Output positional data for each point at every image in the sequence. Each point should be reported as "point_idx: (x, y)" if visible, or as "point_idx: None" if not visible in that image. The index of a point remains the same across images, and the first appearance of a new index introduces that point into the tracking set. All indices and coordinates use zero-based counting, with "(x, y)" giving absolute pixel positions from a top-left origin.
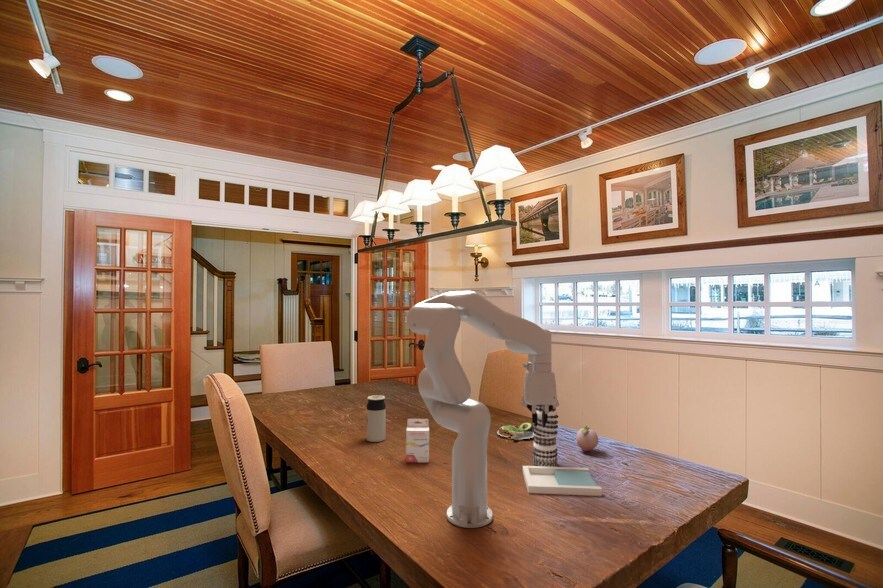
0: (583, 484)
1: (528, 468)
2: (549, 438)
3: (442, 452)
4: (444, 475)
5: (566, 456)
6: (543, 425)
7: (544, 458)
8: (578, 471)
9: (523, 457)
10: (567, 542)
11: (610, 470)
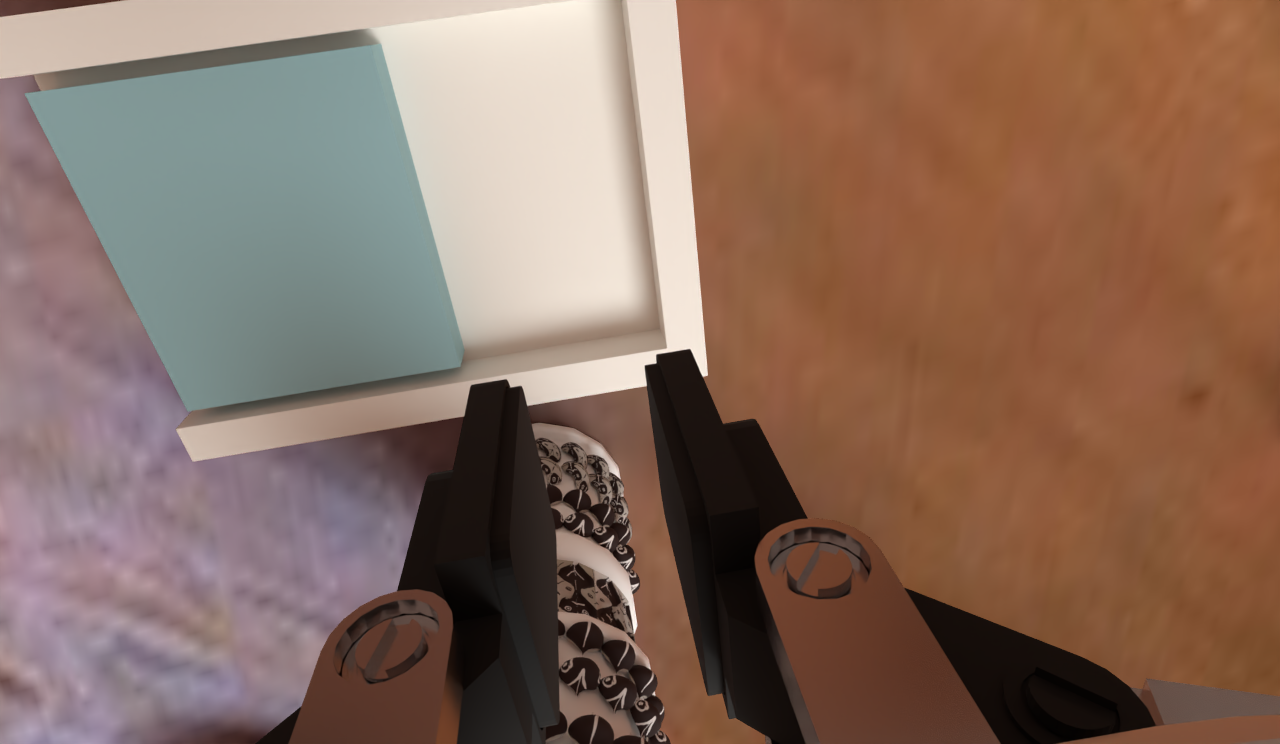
0: (172, 125)
1: (662, 345)
2: None
3: (1178, 542)
4: (1246, 195)
5: None
6: (516, 386)
7: None
8: (263, 393)
9: (683, 603)
10: None
11: (85, 565)
